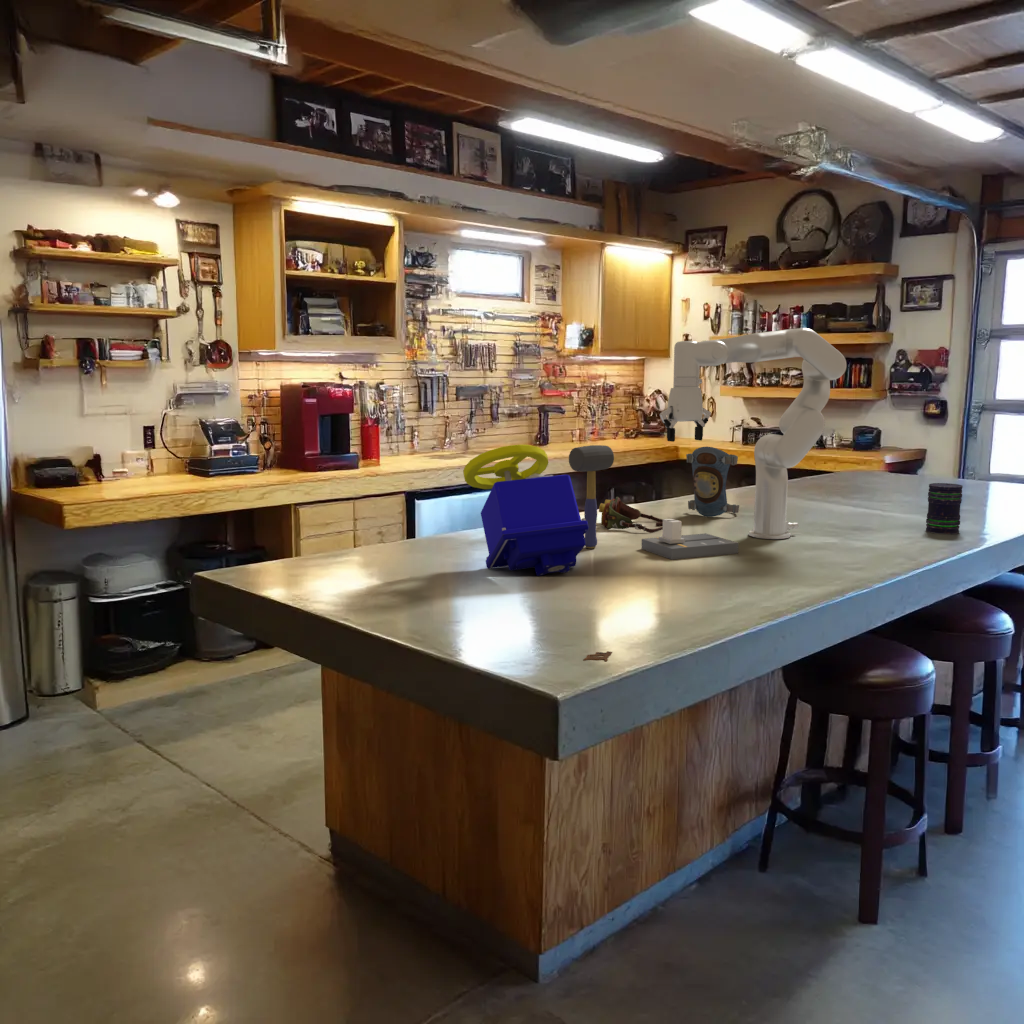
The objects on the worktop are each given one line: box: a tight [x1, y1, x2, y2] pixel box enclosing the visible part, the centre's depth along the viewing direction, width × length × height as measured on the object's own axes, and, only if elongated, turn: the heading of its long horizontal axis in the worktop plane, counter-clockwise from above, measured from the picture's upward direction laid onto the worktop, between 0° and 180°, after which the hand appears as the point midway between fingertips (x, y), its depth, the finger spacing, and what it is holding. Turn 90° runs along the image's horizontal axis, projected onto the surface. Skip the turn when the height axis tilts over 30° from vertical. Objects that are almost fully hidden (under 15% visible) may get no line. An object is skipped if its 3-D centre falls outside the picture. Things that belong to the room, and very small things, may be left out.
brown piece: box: [582, 651, 613, 662], centre depth 171 cm, size 24×5×1 cm, turn 164°
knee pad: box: [685, 446, 740, 518], centre depth 318 cm, size 18×20×25 cm
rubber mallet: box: [568, 444, 615, 550], centre depth 258 cm, size 12×8×30 cm, turn 127°
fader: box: [657, 518, 685, 544], centre depth 253 cm, size 5×6×6 cm
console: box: [641, 532, 739, 560], centre depth 256 cm, size 22×16×3 cm
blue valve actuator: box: [462, 444, 589, 577], centre depth 228 cm, size 26×27×30 cm
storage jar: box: [925, 482, 964, 535], centre depth 285 cm, size 10×10×15 cm
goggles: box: [598, 496, 663, 534], centre depth 295 cm, size 24×24×10 cm
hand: (684, 440), depth 269 cm, fingers open, 9 cm apart
